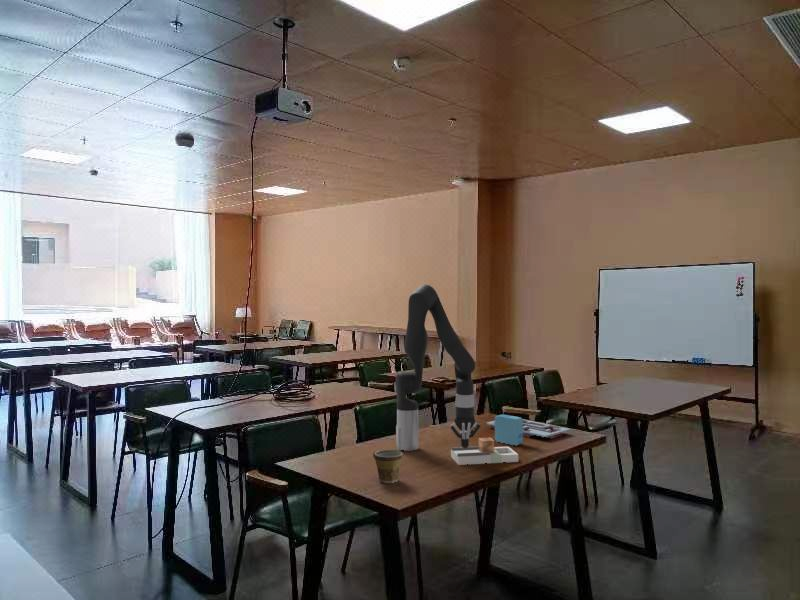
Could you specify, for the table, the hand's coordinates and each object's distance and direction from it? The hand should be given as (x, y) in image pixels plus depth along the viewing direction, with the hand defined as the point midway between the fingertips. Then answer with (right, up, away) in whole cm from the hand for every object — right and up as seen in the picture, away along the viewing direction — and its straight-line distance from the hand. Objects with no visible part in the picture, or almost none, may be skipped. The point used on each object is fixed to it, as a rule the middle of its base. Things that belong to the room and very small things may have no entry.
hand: (464, 447), depth 235 cm
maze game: (+36, -5, +47) cm, 59 cm away
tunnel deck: (+8, -5, +1) cm, 9 cm away
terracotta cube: (+9, -2, +1) cm, 9 cm away
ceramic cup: (-31, -6, -25) cm, 40 cm away
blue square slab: (+22, -5, +25) cm, 34 cm away
